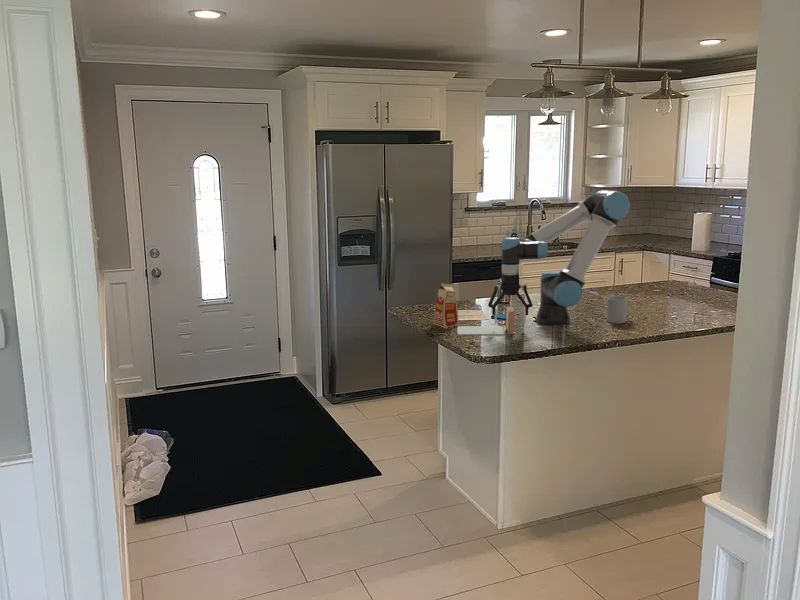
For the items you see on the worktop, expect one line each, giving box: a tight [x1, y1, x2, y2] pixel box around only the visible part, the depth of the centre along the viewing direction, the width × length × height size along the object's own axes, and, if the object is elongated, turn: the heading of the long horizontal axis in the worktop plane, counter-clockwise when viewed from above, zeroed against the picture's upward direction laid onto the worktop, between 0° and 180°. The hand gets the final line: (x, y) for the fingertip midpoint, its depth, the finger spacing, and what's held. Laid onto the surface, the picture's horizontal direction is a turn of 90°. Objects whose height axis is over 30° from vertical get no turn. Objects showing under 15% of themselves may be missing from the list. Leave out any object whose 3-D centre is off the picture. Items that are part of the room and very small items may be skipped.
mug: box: [606, 295, 630, 324], centre depth 311 cm, size 12×8×11 cm
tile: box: [505, 306, 515, 335], centre depth 297 cm, size 2×10×10 cm, turn 175°
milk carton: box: [432, 282, 460, 329], centre depth 310 cm, size 9×9×20 cm
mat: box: [456, 325, 505, 336], centre depth 299 cm, size 20×14×1 cm
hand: (510, 322), depth 297 cm, fingers open, 12 cm apart
